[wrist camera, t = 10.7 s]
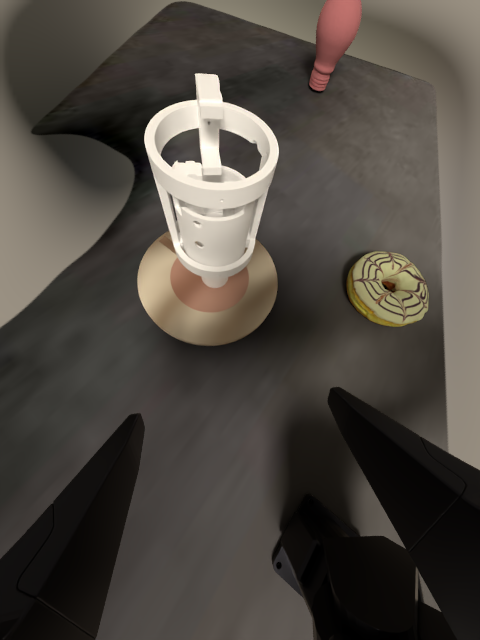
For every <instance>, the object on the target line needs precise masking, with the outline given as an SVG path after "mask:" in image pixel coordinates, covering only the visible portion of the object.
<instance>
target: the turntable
mask: <svg viewBox="0 0 480 640" xmlns="http://www.w3.org/2000/svg"><path fill="white" fill-rule="evenodd" d="M195 243H196V244H197V245H198V243H197V241H196V242H195ZM247 249H248V248H245V251H244V254H245V253H246V251H247ZM184 253H185V251H184ZM244 254H243V255H244ZM137 280H138V291H139V296H140V299H141V302H142V305H143V306H144V308H145V310H146V312H147V313H148V315H149V316H150V317H151V318H152V320H153V321H154V322H155V323H156V324H157V325H158V326H159V327H160V328H161V329H162V330H163V331H165V332H166V333H168V334H169V335H171V336H172V337H174V338H176V339H178V340H181V341H183V342H186V343H190V344H194V345H201V346H218V345H224V344H228V343H232V342H235V341H237V340H239V339H242V338H244V337H245V336H247V335H249V334H250V333H252V332H253V331H254V330H255V329H257V328H258V327H259V326H260V324H261V323H262V322H263V321H264V320H265V318H266V317H267V315H268V314H269V313H270V311H271V309H272V307H273V305H274V302H275V299H276V295H277V289H278V279H277V272H276V269H275V265H274V263H273V261H272V258H271V257H270V255H269V253H268V252H267V250H266V249H265V248H264V246H263V245H262V244H261V243H260V242H259V241H258V240H256V239H255V246H254V250H253V254H252V257H251V259H250V261H249V263H248V264H247V266H246V267H245V268H244V269H243V270H241V271H240V272H238V273H237V274H235V275H232V276H230V277H228V280H227V282H226V284H225V285H223V286H222V287H219V288H211V287H208V286H207V285H205V284H204V282H203V281H202V277H201V276H199V275H196V274H194V273H192V272H191V271H189V270H188V269H187V268H186V267H184V266H183V264H182V263H181V262H180V261H179V259H178V257H177V255H176V252H175V248H174V245H173V241H172V238H171V234H170V231H168V232H166V233H165V234H163V235H162V236H160V237H159V238H158V239H157V240H156V241H155V242H154V243H153V244H152V245H151V246H150V247H149V249H148V250H147V252H146V253H145V255H144V257H143V259H142V261H141V264H140V267H139V271H138V279H137Z"/></svg>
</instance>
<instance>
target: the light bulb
mask: <svg viewBox="0 0 480 640" xmlns="http://www.w3.org/2000/svg"><path fill="white" fill-rule="evenodd" d="M361 8H362V7H361V0H327V1H326V3H325V5H324V7H323V9H322V11H321V13H320V16H319V19H318V24H317V30H316V60H315V62H314V69H313V71H312V74H311V78H310V82H309V85H310V86H311V87H312V88H313V89H314V90H316V91H317V90H318V91H322V90H324V89H325V88H326V85H327V83H328V81H329V78H330V73H332V72H333V70H334V67H335V65H336V63H337V62H338V60H339V59H340V58H341V57H342V55H343V54H344V53H345V51H346V50H347V49H348V47H349V46H350V44H351V43H352V41H353V40H354V38H355V36H356V33H357V31H358V28H359V24H360V20H361V11H362V9H361Z"/></svg>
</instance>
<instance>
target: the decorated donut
mask: <svg viewBox="0 0 480 640" xmlns="http://www.w3.org/2000/svg"><path fill="white" fill-rule="evenodd" d="M382 284H384V285H385V286H386V287H387V289H388V290H386V289H385V288H384V287H383V285H382ZM346 286H347V294H348V296H349V300H350V302H351V303H352V304H353V306H354V307H355V308H356V310H357V311H358V312H359V313H360V314H362V315H363V316H364V317H366V318H367V319H368V320H370V321H372V322H375V323H377V324H380V325H384V326H392V327H394V326H396V327H398V326H404V325H406V324H410V323H414V322H416V321H419V320H421V319H422V318H423V316H424V313H425V312H427V311H428V298H429V294H428V288H427V285H426V281H425V280H424V278H423V276H422V275H421V273H420V272H419V270H418V269H417V268H416V267H415V265H414V264H413V263H411V262H410V261H409V260H408V259H407V258H405V257H404V256H402V255H400V254H397V253H391V252H379V251H376V252H372V253H369V254H366V255H364V256H363V257H362V258H361V259H359V260H358V261H357V262H356V263H355V264H354V265H353V266H352V268H351V269H350V271H349V274H348V277H347V285H346Z"/></svg>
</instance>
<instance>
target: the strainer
mask: <svg viewBox="0 0 480 640" xmlns="http://www.w3.org/2000/svg"><path fill="white" fill-rule="evenodd" d="M195 78H196V94H197V100H191V101H185V102H180V103H177V104H174V105H171V106H169V107H167V108H165V109H163V110H162V111H160V112H159V113H157V114H156V115H155V116H154V117H153V118H152V119H151V121H150V122H149V124H148V126H147V128H146V131H145V137H144V140H145V147H146V150H147V154H148V157H149V161H150V164H151V168H152V171H153V175H154V178H155V182H156V185H157V189H158V192H159V196H160V199H161V203H162V206H163V210H164V213H165V217H166V220H167V224H168V227H169V231H170V234H171V238H172V241H173V245H174V248H175V252H176V255H177V257H178V259H179V261H180V262H181V263H182V264H183V266H184V267H186V268H187V269H188V270H189V271H191V272H192V273H194V274H196V275H199V276H201V277H202V281H203V282H204V284H205V285H207V286H208V287H211V288H219V287H222V286H223V285H225V284H226V282H227V280H228V277H230V276H232V275H235V274H237V273H238V272H240V271H241V270H243V269H244V268H245V267H246V266H247V264H248V263H249V261H250V259H251V257H252V254H253V250H254V246H255V238H256V234H257V230H258V226H259V222H260V219H261V215H262V211H263V207H264V203H265V199H266V195H267V192H268V188H269V186H270V184H271V182H272V179H273V175H274V171H275V167H276V163H277V160H278V155H279V148H278V143H277V140H276V138H275V135H274V134H273V132H272V131H271V129H270V128H269V127H268V126H267V125H266V124H265V123H264V122H263V121H262V120H261V119H260V118H258V117H257V116H256V115H254V114H253V113H251V112H249V111H247V110H245V109H243V108H241V107H238V106H235V105H232V104H229V103H225V102H222V95H221V93H220V84H219V80H218V75H212V74H195ZM195 128H199V140H200V151H201V158H202V165H201V163H195V161H186V163H178V161H176V162H175V163H174V165H173V166H172V167H170V166H169V165H168V164H167V163H166V162H165V161H164V160H163V159H162V157H161V155H160V154H161V151H162V149H163V147H164V145H165V144H166V143H167V142H168V141H169V140H170V139H171V138H172V137H174V136H175V135H177V134H179V133H181V132H183V131H186V130H190V129H195ZM219 129H223V130H227V131H230V132H233V133H236V134H238V135H240V136H242V137H244V138H245V139H247V140H248V141H250V142H251V143H257V145H258V150H259V152H260V153H261V155H262V159H261V164H260V169H259V171H258V172H257V173H256V174H254V175H252V176H250V177H248V178H245V177H244V176H243V175H241V174H240V173H238V172H237V171H235V170H233V169H231V168H228V167H225V166H221V162H220V156H219ZM169 193H170V194H172V197H173V202H174V206H175V211H176V215H177V222H176V219H175V215H174V211H173V207H172V202H171V198H170V194H169ZM196 241H197V243H198V245H197V244H196V243H195V242H196ZM245 248H248V249H247V251H246V253H245V254H244V251H245ZM184 251H185V253H184ZM243 254H244V255H243Z"/></svg>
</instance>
